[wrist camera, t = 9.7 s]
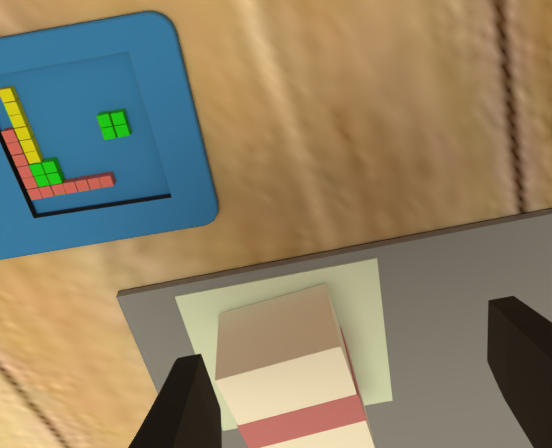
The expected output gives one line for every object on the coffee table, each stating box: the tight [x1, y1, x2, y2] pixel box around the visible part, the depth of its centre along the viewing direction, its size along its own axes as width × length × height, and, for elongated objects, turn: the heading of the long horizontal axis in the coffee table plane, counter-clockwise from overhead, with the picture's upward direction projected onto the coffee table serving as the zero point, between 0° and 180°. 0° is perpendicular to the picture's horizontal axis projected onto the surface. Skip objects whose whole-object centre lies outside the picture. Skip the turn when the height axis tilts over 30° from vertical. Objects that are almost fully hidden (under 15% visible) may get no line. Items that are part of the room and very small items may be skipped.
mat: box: [116, 209, 552, 448], centre depth 26 cm, size 20×16×1 cm
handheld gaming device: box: [0, 11, 218, 260], centre depth 19 cm, size 8×1×15 cm
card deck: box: [215, 283, 376, 448], centre depth 23 cm, size 7×5×4 cm
